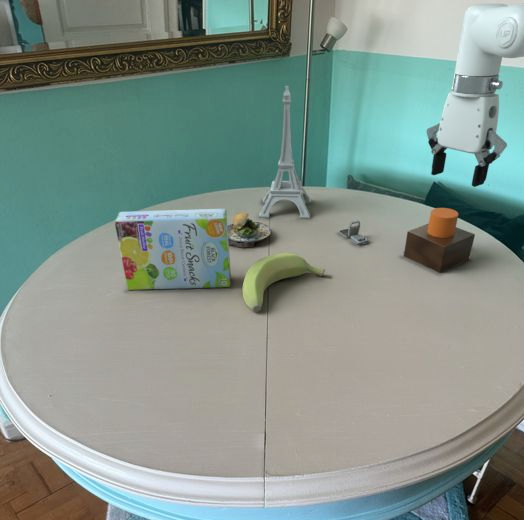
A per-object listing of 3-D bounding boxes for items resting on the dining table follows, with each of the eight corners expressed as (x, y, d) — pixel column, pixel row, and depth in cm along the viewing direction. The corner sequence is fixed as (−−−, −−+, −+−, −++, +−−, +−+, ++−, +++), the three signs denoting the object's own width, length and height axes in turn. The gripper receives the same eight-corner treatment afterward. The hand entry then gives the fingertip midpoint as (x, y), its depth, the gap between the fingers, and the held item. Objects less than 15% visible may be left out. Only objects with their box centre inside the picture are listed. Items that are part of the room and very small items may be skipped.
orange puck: (459, 233, 111) (464, 213, 109) (442, 240, 109) (446, 219, 106) (438, 225, 115) (442, 205, 112) (421, 231, 112) (425, 211, 110)
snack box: (231, 275, 110) (226, 207, 102) (230, 288, 106) (225, 218, 97) (131, 278, 110) (118, 209, 101) (126, 291, 106) (112, 221, 97)
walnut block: (469, 259, 115) (475, 234, 111) (439, 272, 110) (445, 246, 106) (432, 244, 121) (437, 219, 118) (403, 256, 116) (407, 231, 113)
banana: (229, 253, 103) (317, 245, 110) (225, 274, 107) (310, 265, 114) (254, 299, 95) (346, 287, 103) (249, 320, 99) (338, 307, 107)
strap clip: (368, 243, 122) (370, 226, 120) (358, 246, 121) (360, 228, 119) (348, 230, 128) (350, 214, 126) (338, 232, 127) (339, 216, 125)
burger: (257, 252, 119) (256, 221, 115) (213, 242, 124) (211, 212, 119) (279, 232, 128) (279, 203, 124) (238, 224, 132) (236, 195, 128)
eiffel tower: (258, 217, 136) (255, 91, 118) (263, 199, 147) (261, 81, 129) (309, 218, 135) (314, 91, 117) (311, 200, 145) (315, 81, 128)
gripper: (530, 88, 90) (506, 185, 100) (448, 77, 102) (434, 166, 112) (505, 93, 87) (482, 194, 97) (422, 82, 99) (410, 173, 108)
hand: (456, 179), depth 104 cm, fingers open, 9 cm apart
